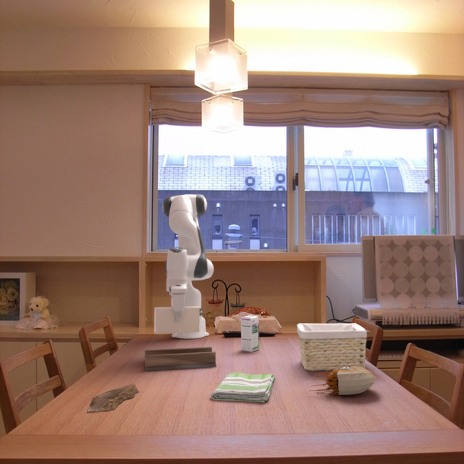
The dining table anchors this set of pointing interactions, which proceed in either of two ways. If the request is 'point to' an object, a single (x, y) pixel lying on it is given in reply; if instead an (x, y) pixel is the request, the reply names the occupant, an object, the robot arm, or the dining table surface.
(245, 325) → the syrup box
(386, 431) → the dining table surface
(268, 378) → the dish towel
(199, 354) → the slot rack
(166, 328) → the white rectangular block
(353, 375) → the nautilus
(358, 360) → the storage basket
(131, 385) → the wooden fragment
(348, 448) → the dining table surface
